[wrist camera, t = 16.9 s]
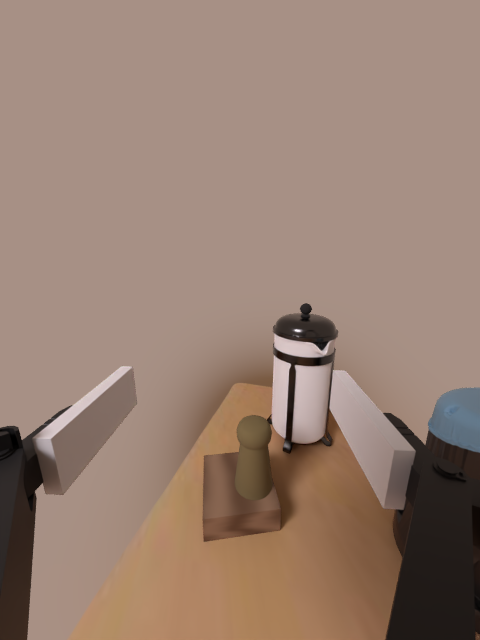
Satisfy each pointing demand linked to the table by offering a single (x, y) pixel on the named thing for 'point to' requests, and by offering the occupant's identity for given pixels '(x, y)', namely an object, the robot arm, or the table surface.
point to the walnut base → (234, 503)
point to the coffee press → (302, 377)
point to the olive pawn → (253, 458)
